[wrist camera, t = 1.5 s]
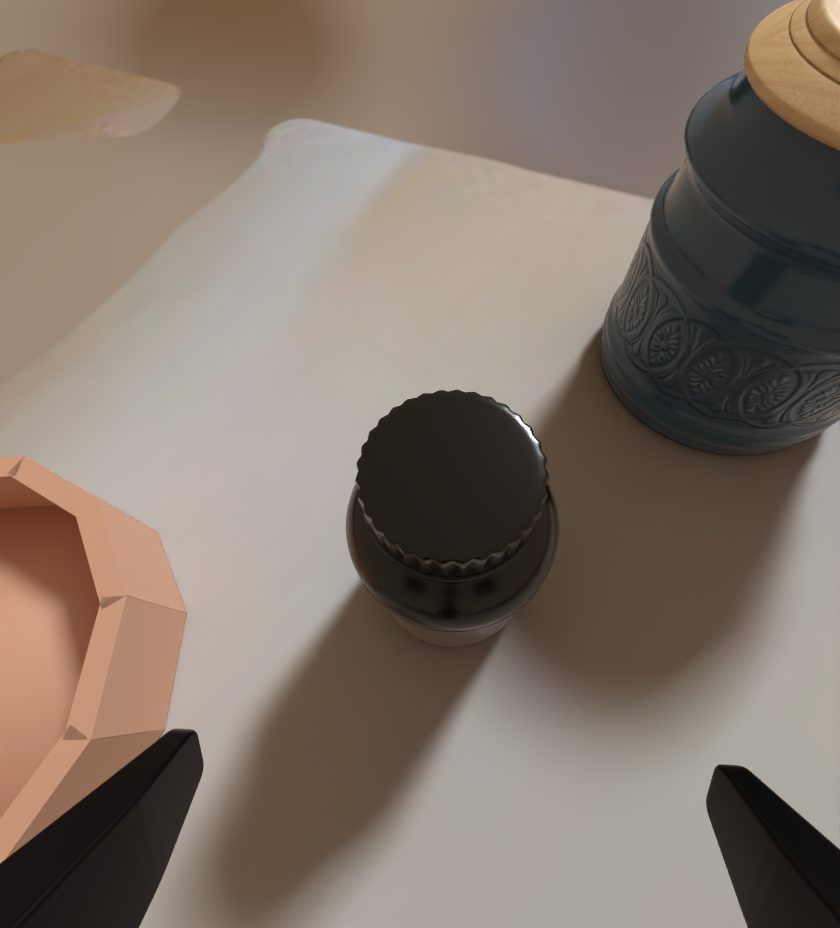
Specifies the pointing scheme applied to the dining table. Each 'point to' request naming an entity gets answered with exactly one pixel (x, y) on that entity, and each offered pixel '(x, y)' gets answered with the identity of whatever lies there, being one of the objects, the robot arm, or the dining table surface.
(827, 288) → the canister
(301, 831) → the dining table surface
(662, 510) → the dining table surface
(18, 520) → the terracotta bowl
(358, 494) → the supplement bottle
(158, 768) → the robot arm
